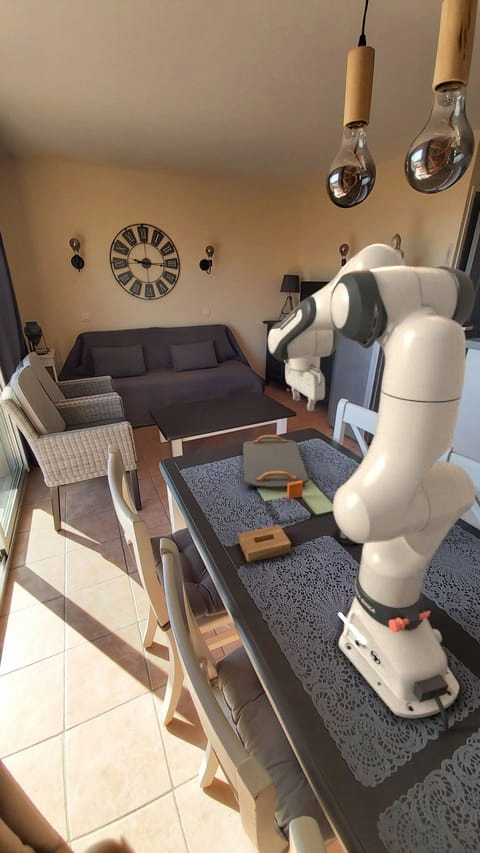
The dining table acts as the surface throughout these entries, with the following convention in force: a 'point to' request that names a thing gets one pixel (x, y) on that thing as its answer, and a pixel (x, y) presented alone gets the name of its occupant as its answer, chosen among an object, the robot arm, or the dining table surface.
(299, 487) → the block
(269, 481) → the serving tray
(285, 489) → the mat
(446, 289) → the robot arm
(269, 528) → the token holder
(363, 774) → the dining table surface
